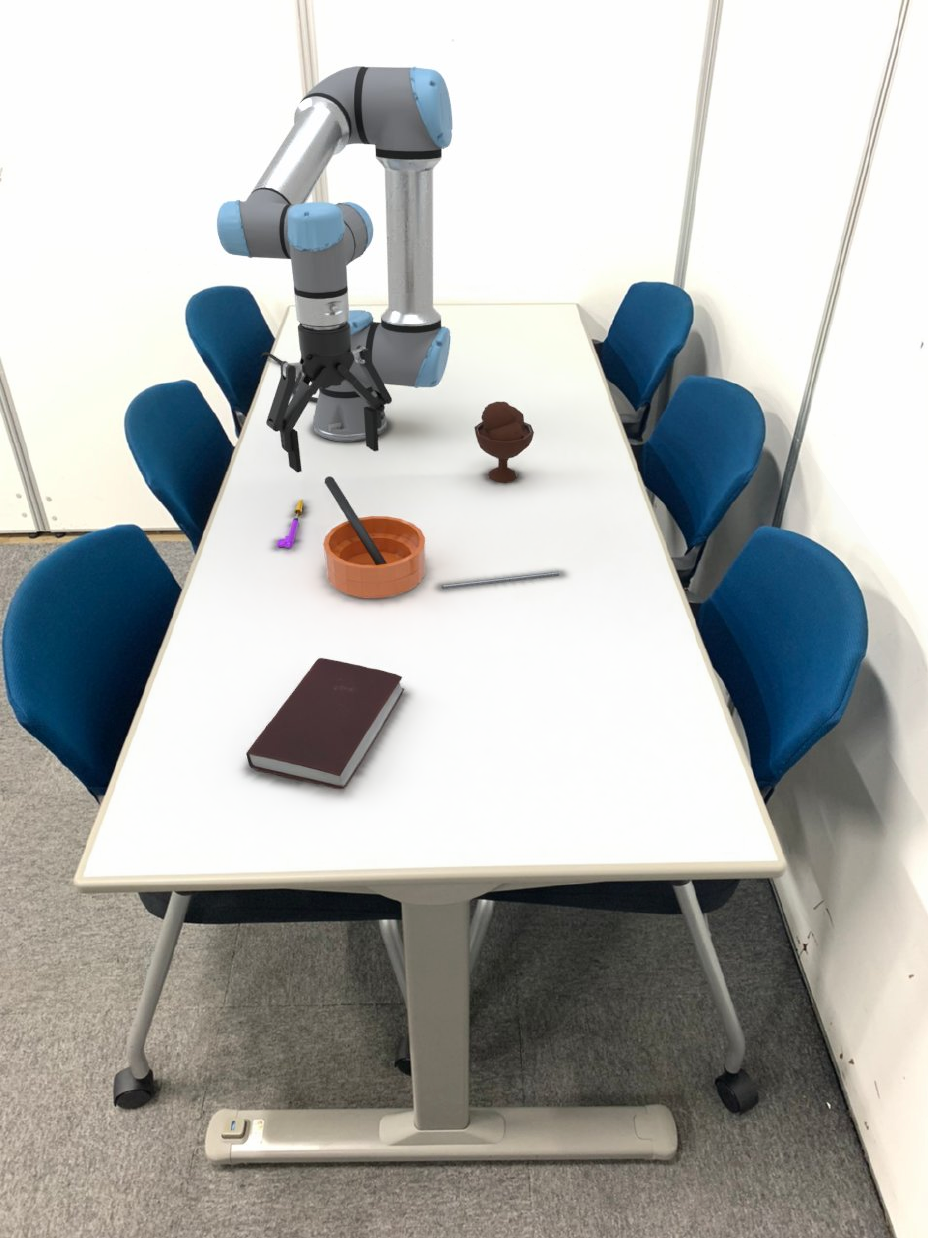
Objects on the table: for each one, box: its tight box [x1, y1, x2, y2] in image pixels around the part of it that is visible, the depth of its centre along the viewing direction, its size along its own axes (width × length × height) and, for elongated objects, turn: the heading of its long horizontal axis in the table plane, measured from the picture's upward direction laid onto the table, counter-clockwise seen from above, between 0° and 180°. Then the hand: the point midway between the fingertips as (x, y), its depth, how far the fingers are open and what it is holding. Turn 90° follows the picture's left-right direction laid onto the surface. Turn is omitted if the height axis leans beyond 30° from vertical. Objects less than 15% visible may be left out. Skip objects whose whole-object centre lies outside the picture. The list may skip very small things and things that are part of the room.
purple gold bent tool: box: [276, 499, 304, 549], centre depth 154 cm, size 3×1×16 cm
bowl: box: [323, 515, 427, 599], centre depth 140 cm, size 16×16×6 cm
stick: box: [324, 476, 387, 565], centre depth 142 cm, size 20×2×10 cm, turn 35°
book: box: [245, 657, 405, 790], centre depth 112 cm, size 12×19×3 cm, turn 161°
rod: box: [441, 571, 560, 590], centre depth 140 cm, size 1×19×1 cm, turn 103°
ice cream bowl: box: [473, 400, 535, 484], centre depth 165 cm, size 11×11×15 cm
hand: (334, 458), depth 140 cm, fingers open, 13 cm apart
